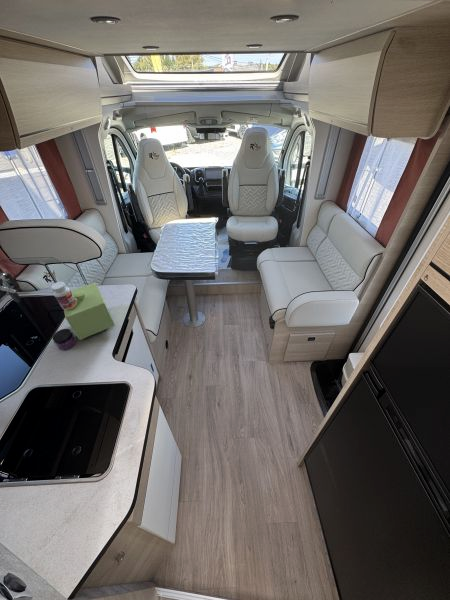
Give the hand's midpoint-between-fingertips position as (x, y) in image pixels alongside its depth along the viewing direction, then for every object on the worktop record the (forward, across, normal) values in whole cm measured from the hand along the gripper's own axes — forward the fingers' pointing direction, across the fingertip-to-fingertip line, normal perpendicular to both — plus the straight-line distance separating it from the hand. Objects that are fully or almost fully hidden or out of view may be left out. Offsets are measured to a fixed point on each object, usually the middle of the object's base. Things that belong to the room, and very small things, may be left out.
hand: (6, 309), depth 83 cm
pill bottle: (+19, -22, -4) cm, 29 cm away
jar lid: (+30, -14, -7) cm, 34 cm away
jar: (+36, -14, -7) cm, 39 cm away
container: (+36, -28, -3) cm, 46 cm away
